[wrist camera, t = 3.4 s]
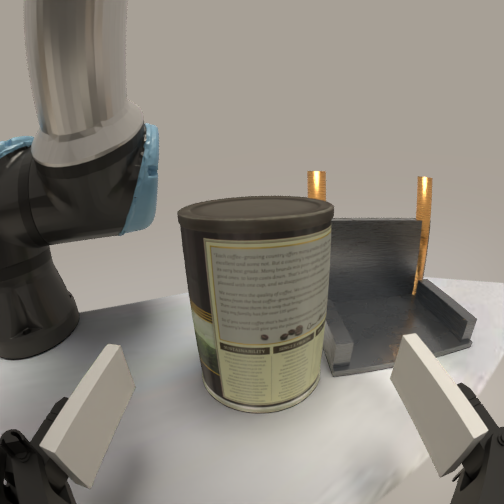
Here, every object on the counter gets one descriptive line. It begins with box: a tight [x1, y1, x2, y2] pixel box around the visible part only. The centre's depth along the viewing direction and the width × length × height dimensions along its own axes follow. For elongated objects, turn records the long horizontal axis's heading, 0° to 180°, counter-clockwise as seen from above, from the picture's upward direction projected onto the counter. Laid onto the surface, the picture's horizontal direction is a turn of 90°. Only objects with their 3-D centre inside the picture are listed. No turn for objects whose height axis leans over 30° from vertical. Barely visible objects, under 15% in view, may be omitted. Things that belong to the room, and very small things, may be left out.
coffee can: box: [178, 196, 334, 413], centre depth 20 cm, size 10×10×14 cm
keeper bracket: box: [307, 171, 477, 377], centre depth 25 cm, size 16×14×16 cm
